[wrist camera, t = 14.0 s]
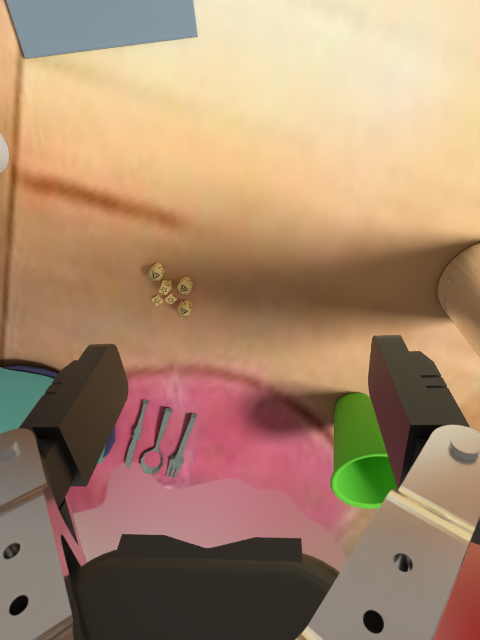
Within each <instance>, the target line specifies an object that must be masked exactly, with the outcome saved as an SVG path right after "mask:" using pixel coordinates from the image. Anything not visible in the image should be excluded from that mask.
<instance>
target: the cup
mask: <svg viewBox="0 0 480 640" xmlns="http://www.w3.org/2000/svg"><path fill="white" fill-rule="evenodd" d="M330 482H331V488H332V490H333V493H334V494H335V495H336V496H337V497H338V498H339V499H340V500H342V501H343V502H345V503H346V504H349V505H352V506H355V507H360V508H373V509H374V508H380V506H381V505H382V503H383V501H384V500H385V498H386V497H387V495H388V494H389V492H390V491H391V490H392V489H396V490H398V489H397V485H396V482H395V479H394V475H393V472H392V468H391V465H390V462H389V458H388V455H387V452H386V448H385V445H384V442H383V438H382V435H381V432H380V428H379V425H378V421H377V418H376V415H375V411H374V408H373V405H372V401H371V398H370V397H369V396H368V395H365V394H362V393H351V394H348V395H345V396H343V397H342V398H340V399H339V400H338V402H337V403H336V406H335V409H334V472H333V474H332V477H331V480H330Z"/></svg>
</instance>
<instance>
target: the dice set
mask: <svg viewBox="0 0 480 640" xmlns="http://www.w3.org/2000/svg"><path fill="white" fill-rule="evenodd" d="M164 273H165V268H164V266H163V265H161V264H160V263H155V264H154V265H153V266H152V267H151V269H150V271H149V272H148V274H149V278H150V279H152V280H153V281H160V279H161V278H162V277H163V275H164ZM192 287H193V282H192V280H191V279H190V278H188V277H183V278H182V279H181V280H180V281H179V283H178V286H177V289H178V292H179V293H181V294H182V295H187V294H189V293H190V291H191V289H192ZM171 289H172V283H171V280H162V285H161V287H160V289H159V291H158V292H161V293H163V294H165V295H167V294H168V292H169V290H171ZM151 300H152V301H153V303H154V304H155V305H156V306H158V305H160V304H162V303H163V302H164V300H166V301H167V302H168V303H169V304H170V305H172V304H173V303H174V302H175V301H177V298H176V297H175V296H174V295H173V294H172V293H170V294H169V295H168V296H167V297H166V298H165V299H164V300H163V299H162V298H161V297H160V295H159V294H158V295H156V296H155V297H153V298H152V299H151ZM191 309H192V303H191V302H190V301H189V300H182V301H181V302H180V303H179V305H178V308H177V313H178V314H179V315H180V316H181V317H187V316H188V315H189V314H190V313H191Z"/></svg>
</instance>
